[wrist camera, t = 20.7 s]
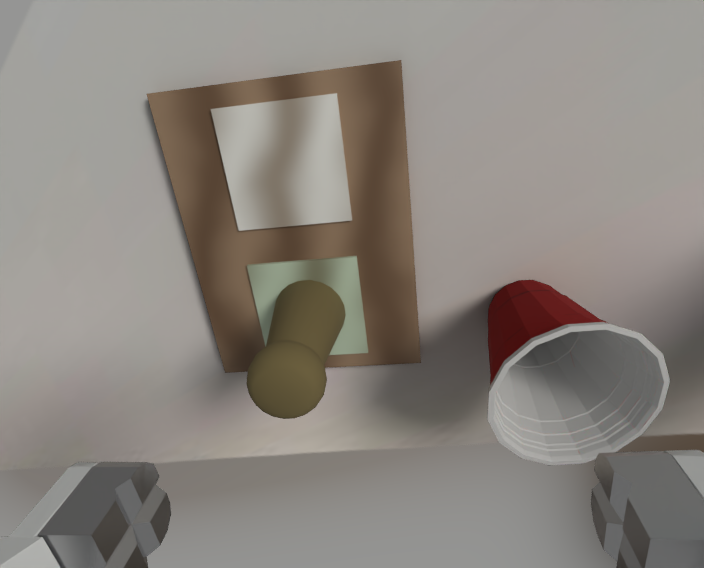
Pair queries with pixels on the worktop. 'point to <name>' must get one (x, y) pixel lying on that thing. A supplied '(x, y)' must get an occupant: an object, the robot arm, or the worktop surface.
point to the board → (298, 204)
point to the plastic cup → (567, 378)
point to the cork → (296, 350)
